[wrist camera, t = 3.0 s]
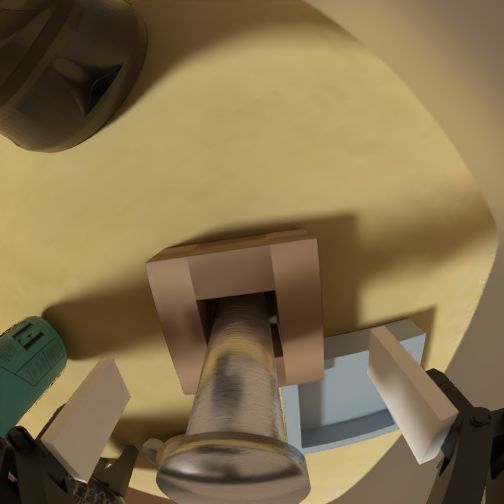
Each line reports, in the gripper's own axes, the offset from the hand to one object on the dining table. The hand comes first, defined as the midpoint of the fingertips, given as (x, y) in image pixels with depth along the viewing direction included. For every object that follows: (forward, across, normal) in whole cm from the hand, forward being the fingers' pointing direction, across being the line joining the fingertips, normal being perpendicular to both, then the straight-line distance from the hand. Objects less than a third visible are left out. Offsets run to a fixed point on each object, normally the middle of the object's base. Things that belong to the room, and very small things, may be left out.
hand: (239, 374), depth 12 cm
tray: (+8, +8, -10) cm, 15 cm away
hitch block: (+8, 0, 0) cm, 8 cm away
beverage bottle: (+8, -20, -2) cm, 22 cm away
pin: (+8, 0, 0) cm, 8 cm away
